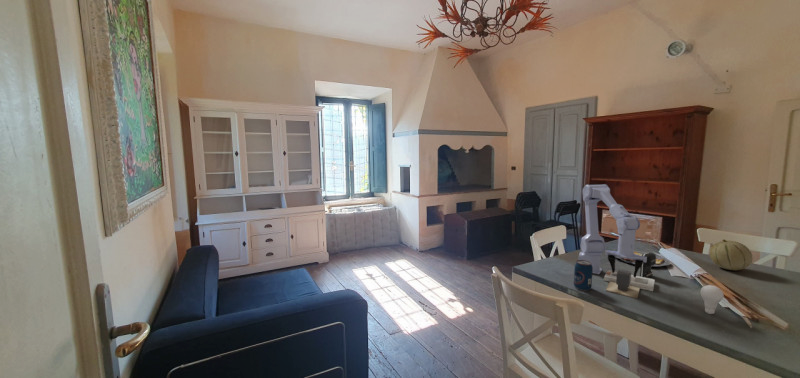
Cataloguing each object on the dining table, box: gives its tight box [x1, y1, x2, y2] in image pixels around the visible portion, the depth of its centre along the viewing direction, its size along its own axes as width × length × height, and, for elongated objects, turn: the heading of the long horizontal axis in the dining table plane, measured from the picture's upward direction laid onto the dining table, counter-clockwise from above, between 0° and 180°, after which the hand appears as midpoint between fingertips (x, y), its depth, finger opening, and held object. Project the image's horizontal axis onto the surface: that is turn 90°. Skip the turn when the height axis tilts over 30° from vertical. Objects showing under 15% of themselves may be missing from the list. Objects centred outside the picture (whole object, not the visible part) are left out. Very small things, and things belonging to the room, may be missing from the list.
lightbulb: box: [699, 284, 725, 315], centre depth 116 cm, size 6×6×11 cm
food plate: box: [615, 249, 671, 267], centre depth 172 cm, size 25×23×4 cm
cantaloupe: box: [709, 239, 753, 271], centre depth 157 cm, size 15×15×15 cm
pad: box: [605, 281, 641, 299], centre depth 137 cm, size 11×11×1 cm
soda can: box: [573, 259, 593, 292], centre depth 140 cm, size 7×7×12 cm
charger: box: [616, 268, 632, 291], centre depth 137 cm, size 4×6×8 cm
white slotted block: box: [603, 270, 656, 292], centre depth 145 cm, size 18×10×3 cm, turn 48°
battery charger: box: [639, 251, 657, 278], centre depth 150 cm, size 7×4×11 cm, turn 119°
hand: (623, 274), depth 137 cm, fingers open, 7 cm apart
